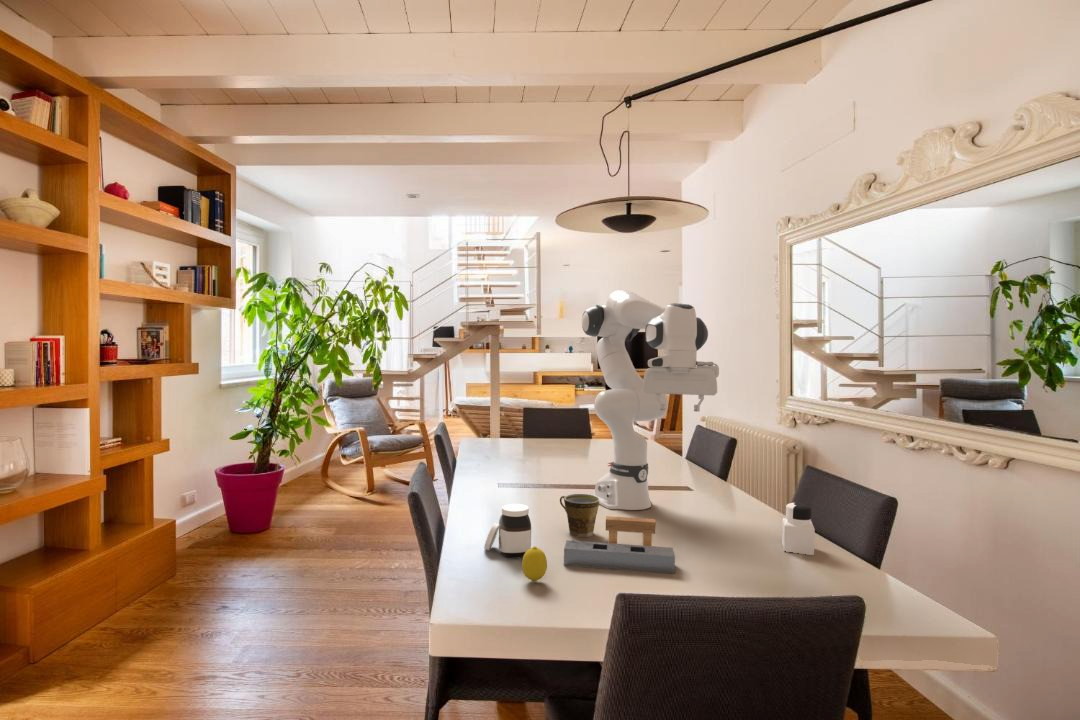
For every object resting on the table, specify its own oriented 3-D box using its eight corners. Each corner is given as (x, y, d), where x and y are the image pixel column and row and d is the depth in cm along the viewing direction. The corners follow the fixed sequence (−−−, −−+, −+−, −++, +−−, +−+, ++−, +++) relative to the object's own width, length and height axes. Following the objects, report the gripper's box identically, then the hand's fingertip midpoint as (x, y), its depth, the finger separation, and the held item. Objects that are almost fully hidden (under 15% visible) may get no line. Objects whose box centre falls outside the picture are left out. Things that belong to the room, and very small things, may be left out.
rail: (563, 565, 136) (564, 548, 136) (566, 556, 142) (566, 540, 142) (674, 573, 132) (674, 556, 132) (672, 563, 138) (672, 547, 138)
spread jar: (534, 558, 140) (535, 512, 139) (489, 563, 136) (490, 515, 136) (522, 542, 151) (522, 499, 151) (480, 546, 148) (481, 501, 148)
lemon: (521, 577, 128) (521, 542, 128) (545, 577, 129) (546, 542, 128) (522, 587, 123) (523, 551, 122) (547, 587, 123) (548, 550, 123)
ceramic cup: (605, 533, 159) (606, 498, 159) (583, 542, 152) (584, 505, 152) (570, 523, 168) (571, 490, 168) (548, 530, 161) (548, 496, 161)
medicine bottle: (810, 546, 151) (811, 502, 151) (814, 556, 145) (815, 509, 144) (781, 543, 154) (783, 499, 154) (784, 552, 147) (785, 506, 147)
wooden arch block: (605, 545, 150) (605, 519, 150) (605, 541, 153) (606, 516, 152) (655, 548, 148) (655, 522, 148) (654, 545, 151) (655, 519, 151)
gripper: (719, 361, 157) (718, 411, 157) (645, 360, 164) (644, 408, 164) (718, 361, 151) (718, 413, 151) (642, 360, 158) (641, 410, 158)
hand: (679, 410), depth 158 cm, fingers open, 8 cm apart
